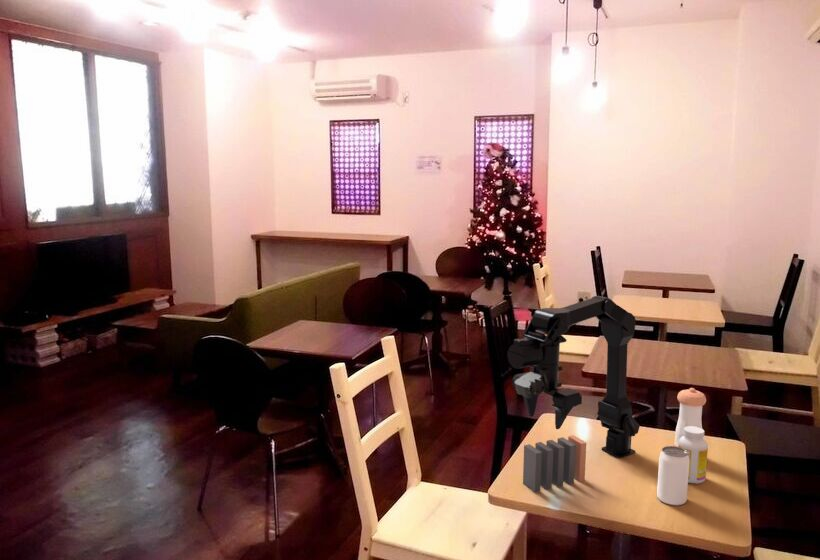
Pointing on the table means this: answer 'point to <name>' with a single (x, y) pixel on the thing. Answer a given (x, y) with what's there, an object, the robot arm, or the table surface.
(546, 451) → the domino
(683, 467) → the can
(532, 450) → the domino
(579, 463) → the domino
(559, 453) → the domino
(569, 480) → the domino
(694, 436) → the supplement bottle
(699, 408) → the salt shaker
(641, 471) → the table surface
